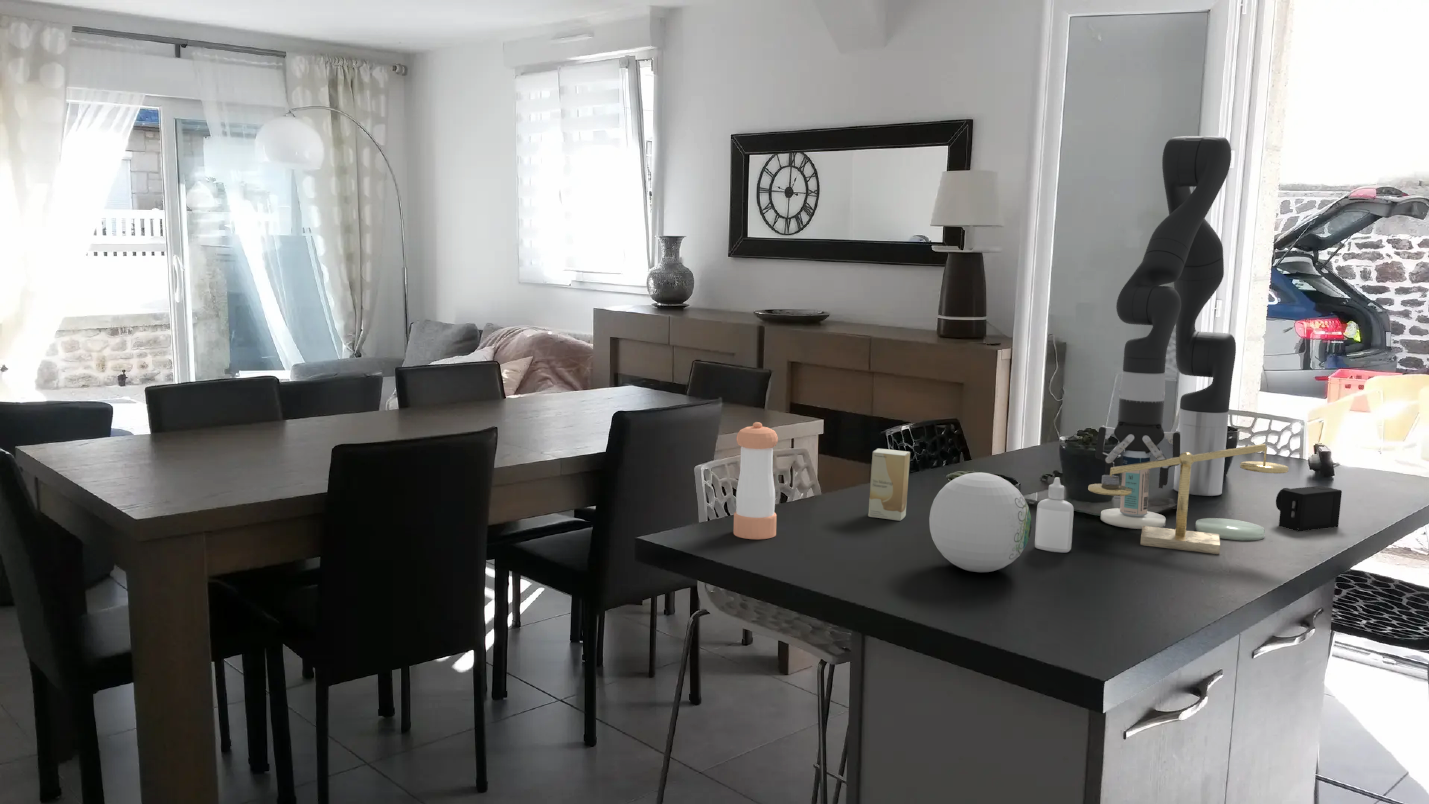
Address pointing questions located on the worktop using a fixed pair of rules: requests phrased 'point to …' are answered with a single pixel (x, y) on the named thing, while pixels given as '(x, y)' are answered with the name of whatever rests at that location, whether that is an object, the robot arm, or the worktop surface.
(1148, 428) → the robot arm
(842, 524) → the worktop surface
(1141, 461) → the beer can
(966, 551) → the decorative object
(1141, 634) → the worktop surface
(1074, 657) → the worktop surface
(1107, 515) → the glossy white dome
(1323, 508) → the digital camera
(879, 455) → the skincare box
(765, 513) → the pepper shaker
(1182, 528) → the balance
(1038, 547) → the eye dropper bottle
